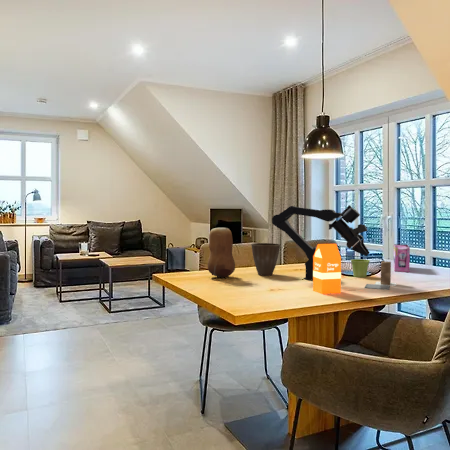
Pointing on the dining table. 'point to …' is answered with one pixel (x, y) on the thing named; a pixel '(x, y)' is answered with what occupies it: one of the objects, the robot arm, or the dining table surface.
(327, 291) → the orange juice
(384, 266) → the block
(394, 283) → the tile
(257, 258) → the plant pot
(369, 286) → the coaster
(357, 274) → the plant pot
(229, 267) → the butternut squash
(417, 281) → the dining table surface
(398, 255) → the gum box
